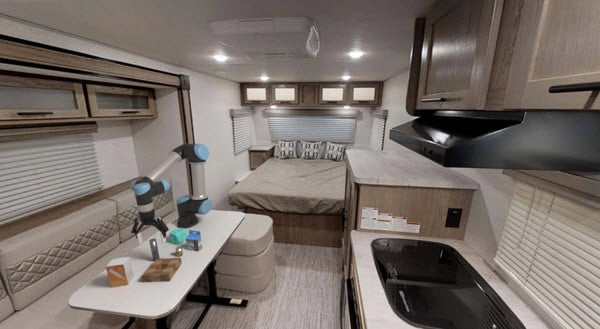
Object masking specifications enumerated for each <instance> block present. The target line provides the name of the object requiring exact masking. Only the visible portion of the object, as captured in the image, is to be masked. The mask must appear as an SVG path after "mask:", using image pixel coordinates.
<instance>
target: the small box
mask: <svg viewBox="0 0 600 329" xmlns="http://www.w3.org/2000/svg"><path fill="white" fill-rule="evenodd" d="M105 268H106V272H107V276H108V280H109V284H110V288H115V287H122V286H128V285H130V283H131V282H132V281H133V279H134V277H135V274H134V270H133V267H132V262H131V257H130V256H125V257H117V258H112V259H111V260H110V261H109V262H108V263H107V265H106V266H105Z"/></svg>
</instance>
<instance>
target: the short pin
mask: <svg viewBox="0 0 600 329" xmlns="http://www.w3.org/2000/svg"><path fill="white" fill-rule="evenodd" d="M175 254H176V258H181V257H182V256H183V255H184V254H183V249H182V246H176V247H175Z"/></svg>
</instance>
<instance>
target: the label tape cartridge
mask: <svg viewBox="0 0 600 329" xmlns="http://www.w3.org/2000/svg"><path fill="white" fill-rule="evenodd" d="M185 242H186V248H187V251H188V250H189V251H196V252H200V251H201V250H202V249H203V244H202V236H201V231H199V230H198V231H197V230H193V229H192V230H190V229H189V230H188V233H187V237H186V239H185Z"/></svg>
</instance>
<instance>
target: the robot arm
mask: <svg viewBox="0 0 600 329" xmlns="http://www.w3.org/2000/svg"><path fill="white" fill-rule="evenodd" d="M209 156H210V151H209V149H208V147H207V145H205V144H202V143H188V142H187V143H182V144H180V145H179V146H176V147H175V148H173V149H171V151H170V152H169V154H168V155H167V156H166V157H165V158H164V159H163V160H161V161H160V162H159V163H158V164H157V165H156V166H155V167H153V168H152V169H151V170H150V171H149V172H147V173H146V174H145V175H144V176H142V177H141V178H140V179H135V180H133V181H131V183H130V189H131V191H133V192H134V193H133V194H134V197H135V201H136V207H137V210H138V216H137V217H135V218H134V219H133V220H134V223H133V226H132V228H131V232H130V233H131V234H134V235H135V239H137V243H138V245H141V244H142V243H143V242H144V240H143V236H142V229H143V227H144V226H152V227H154V228H155V229H156V230H158V231H159V232H160V237H161V238H160V239H161V244H165V243H166V241H167V239H166V237H167V232H168V231H169V230H170V228H169V227H168V225H167V224H166V223H165V222H164V221H163V219H162V218H163V217H162V216H161V215H159V216H158V217H156V211H155V205H154V200H153V198H155V197H157V196H160V195H161V194H165V193H166V192H168V191H169V190H170V183H169V181H168V180H164V179H163V180H160V179H162V178H163V177H164V176H165V175H166V174H167V173H168V172H169V171H171V169H172V168H173V167H174V166H176V165H177V164H178V163H181V162H182V161H183V160H184V161H185V160H188V163H189V164H190V165H191V179H192V180H191V181H192V194H186V195H182V196H180V197H178V198H177V199H176V200H175V201H176V207H177V214H178V218H177V223H176V224H177V228H183V229H188V228H191V227H194V226H196V225H198V223H199V222H200V221H199V218H198V215H199V216H200V215H203V216H204V215H207V214H208V213H210V211H211V209H212V207H213V206H212V205H213V204H212V201H211V200H210V199H209V196H208V194H207V193H206V191H207V190H206V177H205V176H206V175H205V164H206V162H207V160H208V158H209ZM140 222H141V223H140ZM139 223H140V224H139Z"/></svg>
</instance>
